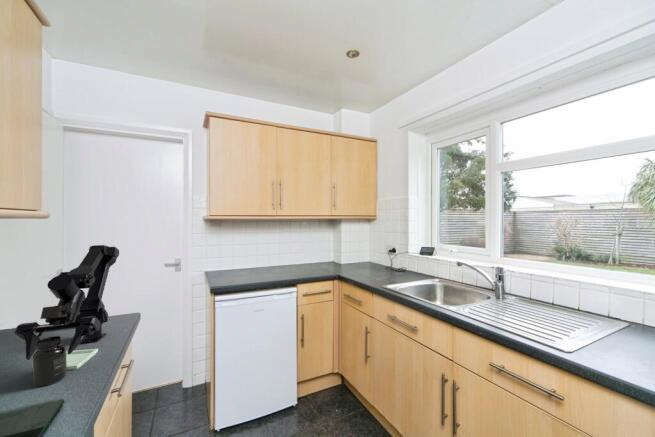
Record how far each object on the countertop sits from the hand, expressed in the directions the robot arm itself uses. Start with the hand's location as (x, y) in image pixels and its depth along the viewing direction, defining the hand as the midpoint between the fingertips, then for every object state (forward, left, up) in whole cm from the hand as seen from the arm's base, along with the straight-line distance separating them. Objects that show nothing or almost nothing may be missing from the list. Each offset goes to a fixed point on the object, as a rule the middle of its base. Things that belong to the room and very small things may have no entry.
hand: (48, 356), depth 78 cm
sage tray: (-11, -2, -7) cm, 13 cm away
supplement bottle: (-1, 0, -8) cm, 8 cm away
